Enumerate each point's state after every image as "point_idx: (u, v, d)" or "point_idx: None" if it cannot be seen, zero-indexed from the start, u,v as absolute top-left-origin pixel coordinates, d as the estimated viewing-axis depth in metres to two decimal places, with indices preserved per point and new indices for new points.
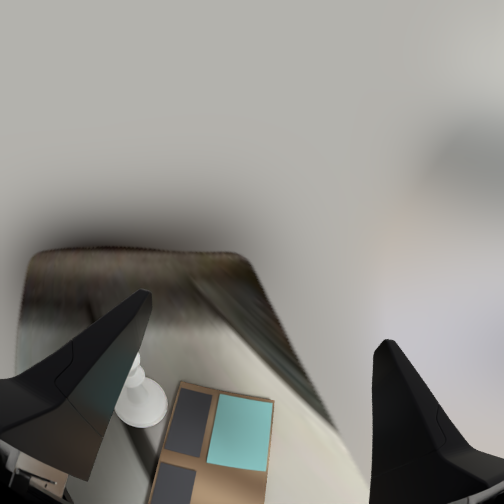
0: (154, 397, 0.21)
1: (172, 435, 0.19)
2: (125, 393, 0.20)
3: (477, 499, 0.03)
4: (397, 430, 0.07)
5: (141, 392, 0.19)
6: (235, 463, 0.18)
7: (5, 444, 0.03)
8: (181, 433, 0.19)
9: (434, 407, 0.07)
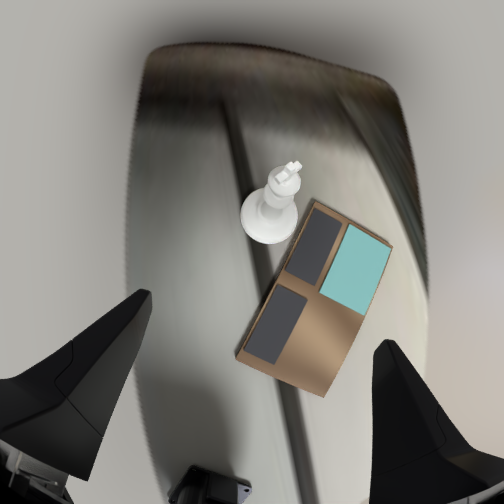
0: (286, 214, 0.24)
1: (295, 257, 0.24)
2: (259, 206, 0.23)
3: (477, 499, 0.03)
4: (397, 430, 0.07)
5: (280, 210, 0.21)
6: (342, 300, 0.23)
7: (5, 444, 0.03)
8: (304, 256, 0.24)
9: (434, 407, 0.07)
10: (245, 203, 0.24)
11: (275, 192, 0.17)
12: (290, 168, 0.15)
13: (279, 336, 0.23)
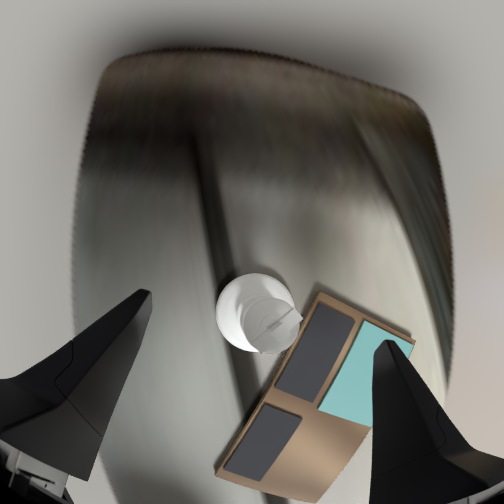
0: None
1: (289, 371, 0.17)
2: (239, 309, 0.16)
3: (477, 499, 0.03)
4: (397, 430, 0.07)
5: None
6: (346, 413, 0.17)
7: (5, 444, 0.03)
8: (302, 370, 0.17)
9: (434, 407, 0.07)
10: (221, 299, 0.17)
11: (255, 347, 0.10)
12: (280, 338, 0.08)
13: (265, 457, 0.16)
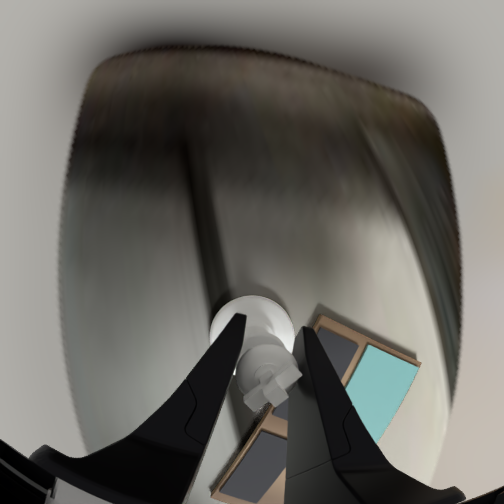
0: None
1: None
2: None
3: None
4: (303, 429, 0.07)
5: None
6: None
7: None
8: None
9: (344, 408, 0.07)
10: (215, 324, 0.16)
11: None
12: (275, 401, 0.06)
13: (262, 481, 0.14)
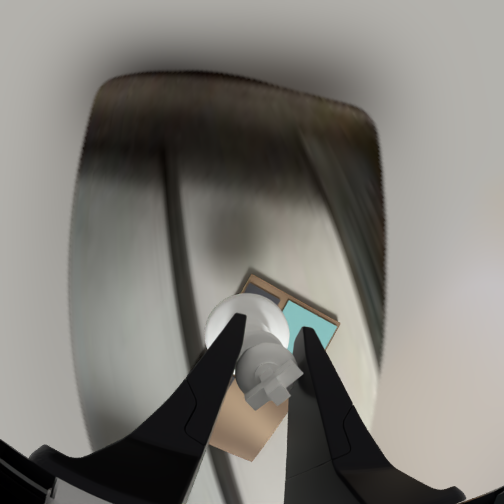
0: None
1: None
2: None
3: None
4: (303, 429, 0.07)
5: None
6: None
7: None
8: None
9: (344, 408, 0.07)
10: (210, 322, 0.15)
11: None
12: (277, 399, 0.07)
13: None
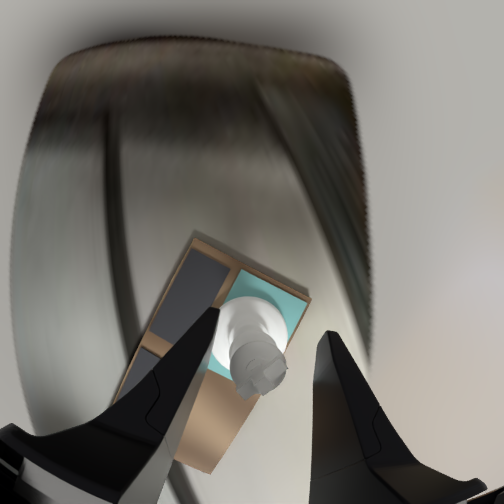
0: None
1: (162, 315, 0.17)
2: (231, 335, 0.16)
3: None
4: (332, 431, 0.07)
5: None
6: (227, 371, 0.17)
7: (96, 497, 0.03)
8: (174, 314, 0.17)
9: (372, 409, 0.07)
10: None
11: None
12: (263, 390, 0.08)
13: None
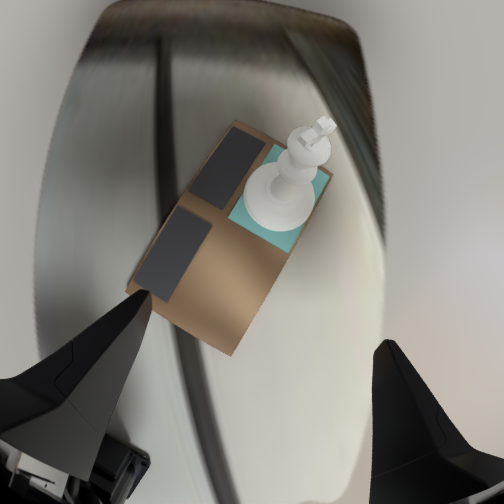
0: (302, 196, 0.19)
1: (202, 176, 0.19)
2: (268, 183, 0.18)
3: (477, 499, 0.03)
4: (397, 430, 0.07)
5: (296, 188, 0.16)
6: (258, 230, 0.20)
7: (5, 444, 0.03)
8: (213, 176, 0.20)
9: (434, 407, 0.07)
10: (251, 179, 0.19)
11: (297, 159, 0.12)
12: (323, 124, 0.10)
13: (174, 267, 0.19)
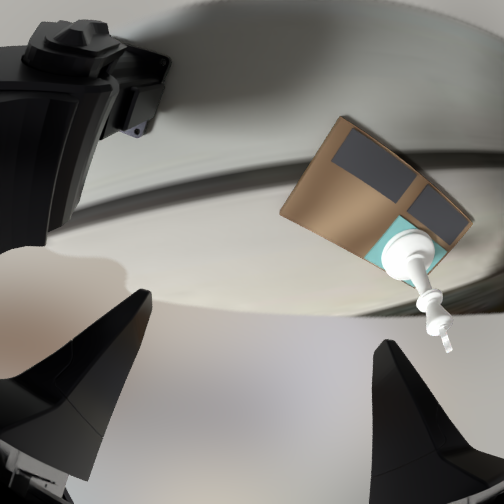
0: (405, 274, 0.22)
1: (436, 197, 0.18)
2: (420, 256, 0.20)
3: (477, 499, 0.03)
4: (397, 430, 0.07)
5: (413, 283, 0.19)
6: (385, 237, 0.21)
7: (5, 444, 0.03)
8: (434, 206, 0.19)
9: (434, 407, 0.07)
10: (426, 239, 0.20)
11: (434, 320, 0.15)
12: (447, 350, 0.14)
13: (364, 170, 0.18)
